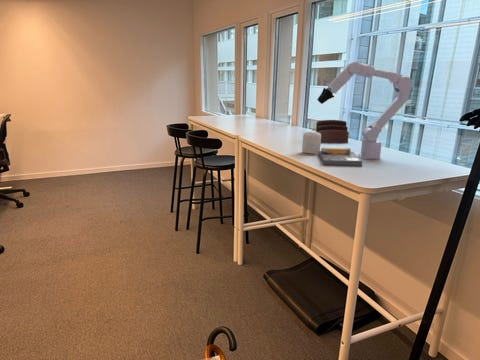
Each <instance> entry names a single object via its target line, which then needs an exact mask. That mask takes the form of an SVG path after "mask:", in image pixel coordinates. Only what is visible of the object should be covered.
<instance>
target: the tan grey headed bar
mask: <svg viewBox="0 0 480 360" xmlns="http://www.w3.org/2000/svg"><path fill="white" fill-rule="evenodd" d="M320 151H321V152H322V153H350V152H351V151H352V150H351V148H349V147H347V148H346V147H345V148H344V147H320Z"/></svg>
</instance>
